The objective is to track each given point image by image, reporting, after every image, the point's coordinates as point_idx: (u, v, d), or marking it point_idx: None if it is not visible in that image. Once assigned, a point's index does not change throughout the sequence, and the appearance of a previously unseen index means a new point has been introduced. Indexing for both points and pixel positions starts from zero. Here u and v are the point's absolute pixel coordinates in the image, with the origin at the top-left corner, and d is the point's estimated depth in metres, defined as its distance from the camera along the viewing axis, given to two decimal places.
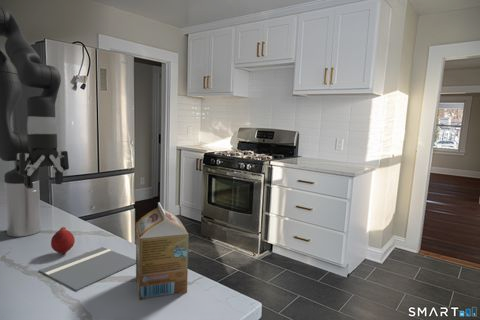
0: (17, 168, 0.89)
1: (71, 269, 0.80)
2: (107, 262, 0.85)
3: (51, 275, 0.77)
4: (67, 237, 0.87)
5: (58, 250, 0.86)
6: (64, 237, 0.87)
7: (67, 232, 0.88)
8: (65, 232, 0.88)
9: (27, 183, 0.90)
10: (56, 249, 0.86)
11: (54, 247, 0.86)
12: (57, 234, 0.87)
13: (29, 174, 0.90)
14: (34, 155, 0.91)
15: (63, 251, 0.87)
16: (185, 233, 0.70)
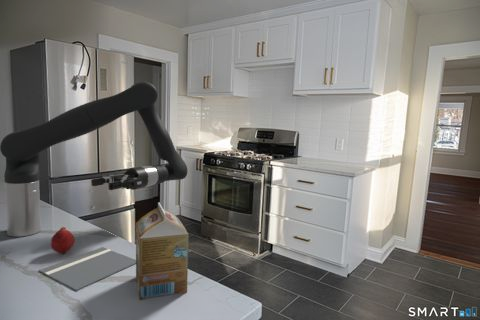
0: (131, 182, 0.98)
1: (71, 269, 0.80)
2: (107, 262, 0.85)
3: (51, 275, 0.77)
4: (67, 237, 0.87)
5: (58, 250, 0.86)
6: (64, 237, 0.87)
7: (67, 232, 0.88)
8: (65, 232, 0.88)
9: (115, 188, 0.96)
10: (56, 249, 0.86)
11: (54, 247, 0.86)
12: (57, 234, 0.87)
13: (122, 188, 0.98)
14: None
15: (63, 251, 0.87)
16: (185, 233, 0.70)
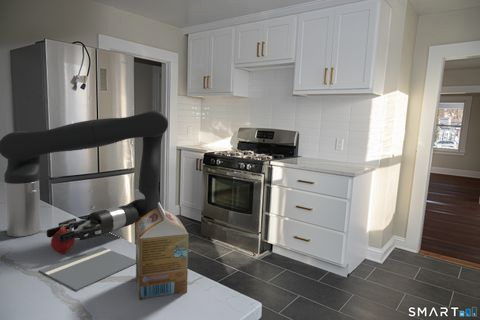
0: None
1: (71, 269, 0.80)
2: (107, 262, 0.85)
3: (51, 275, 0.77)
4: None
5: (58, 250, 0.86)
6: None
7: None
8: (65, 232, 0.88)
9: (66, 239, 0.86)
10: (56, 249, 0.86)
11: (54, 247, 0.86)
12: (57, 234, 0.87)
13: (75, 238, 0.88)
14: None
15: (63, 251, 0.87)
16: (185, 233, 0.70)
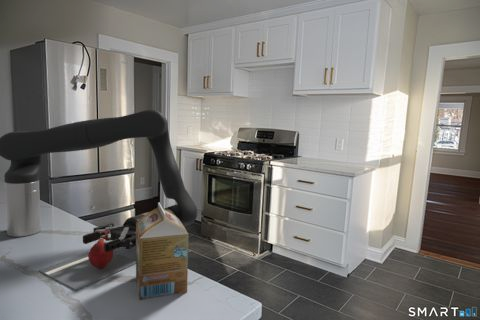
0: None
1: (71, 269, 0.80)
2: None
3: (51, 275, 0.77)
4: None
5: (97, 264, 0.78)
6: (103, 250, 0.79)
7: None
8: None
9: (112, 249, 0.77)
10: (95, 263, 0.78)
11: (92, 261, 0.78)
12: (95, 246, 0.79)
13: None
14: None
15: (102, 265, 0.79)
16: (185, 233, 0.70)
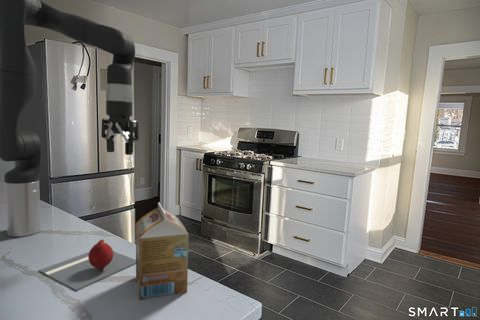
0: None
1: (71, 269, 0.80)
2: None
3: (51, 275, 0.77)
4: (107, 251, 0.79)
5: (97, 265, 0.78)
6: (103, 251, 0.78)
7: (106, 245, 0.80)
8: (104, 245, 0.79)
9: None
10: (95, 264, 0.78)
11: (93, 262, 0.78)
12: (95, 248, 0.78)
13: None
14: None
15: (102, 266, 0.79)
16: (185, 233, 0.70)
